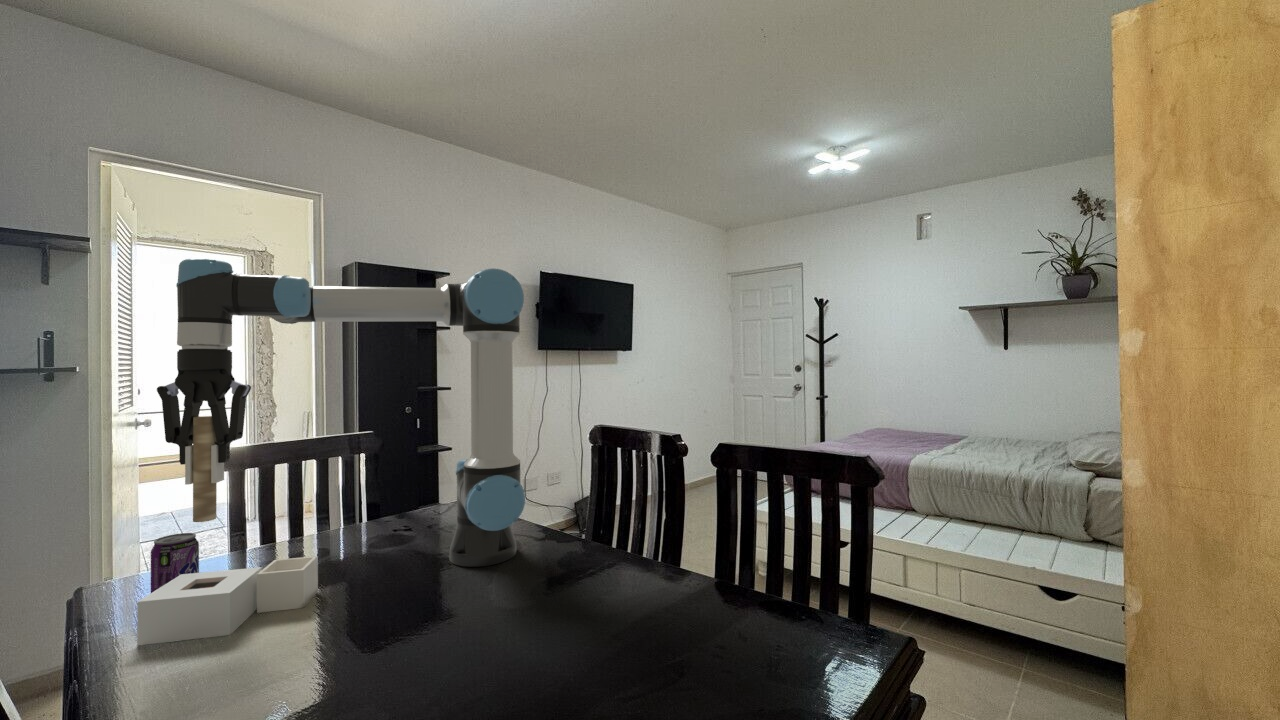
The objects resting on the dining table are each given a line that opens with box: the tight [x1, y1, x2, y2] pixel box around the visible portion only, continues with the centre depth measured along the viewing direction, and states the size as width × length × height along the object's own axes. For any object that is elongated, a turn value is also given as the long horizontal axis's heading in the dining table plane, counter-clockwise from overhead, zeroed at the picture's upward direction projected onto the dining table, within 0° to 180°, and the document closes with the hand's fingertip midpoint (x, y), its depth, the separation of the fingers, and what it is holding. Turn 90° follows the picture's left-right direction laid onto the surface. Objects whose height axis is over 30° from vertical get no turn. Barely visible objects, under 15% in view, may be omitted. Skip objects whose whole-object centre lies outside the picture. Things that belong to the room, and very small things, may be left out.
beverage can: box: [150, 532, 200, 594], centre depth 104 cm, size 7×7×12 cm
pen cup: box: [256, 555, 319, 614], centre depth 103 cm, size 8×8×7 cm
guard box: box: [136, 566, 263, 646], centre depth 94 cm, size 13×12×7 cm
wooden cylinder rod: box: [192, 415, 218, 523], centre depth 94 cm, size 3×3×18 cm
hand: (205, 481), depth 94 cm, fingers closed on wooden cylinder rod, 3 cm apart
